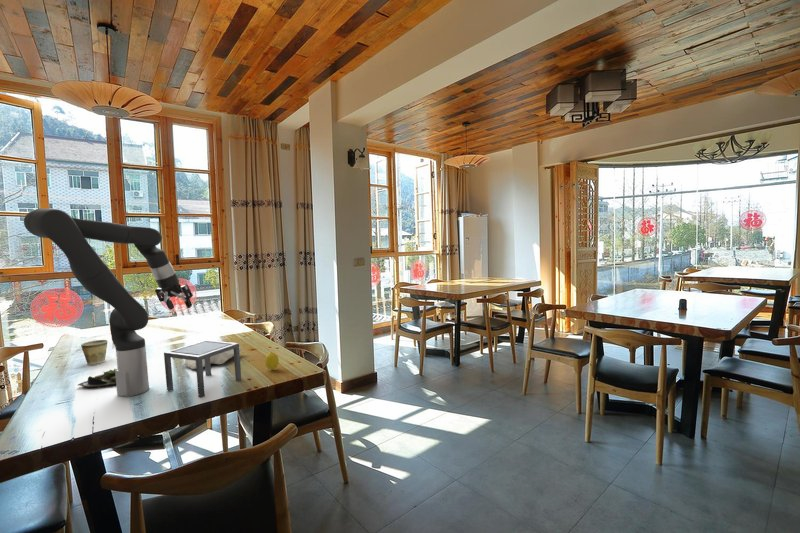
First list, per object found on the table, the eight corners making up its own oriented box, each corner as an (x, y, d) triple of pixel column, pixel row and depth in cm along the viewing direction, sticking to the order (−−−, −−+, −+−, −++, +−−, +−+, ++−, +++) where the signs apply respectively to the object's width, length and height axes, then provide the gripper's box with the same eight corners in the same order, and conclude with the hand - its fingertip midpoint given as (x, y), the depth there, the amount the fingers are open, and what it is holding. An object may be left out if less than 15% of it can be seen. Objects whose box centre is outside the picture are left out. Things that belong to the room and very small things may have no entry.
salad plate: (98, 375, 168) (97, 365, 168) (144, 370, 172) (143, 360, 172) (73, 392, 149) (72, 380, 149) (125, 386, 154) (124, 374, 153)
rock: (177, 355, 175) (229, 336, 194) (180, 369, 177) (232, 349, 196) (195, 364, 163) (249, 342, 182) (198, 379, 165) (252, 356, 184)
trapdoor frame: (201, 397, 138) (198, 357, 137) (167, 391, 146) (163, 352, 144) (241, 379, 155) (238, 343, 154) (208, 374, 163) (206, 339, 161)
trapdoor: (199, 357, 140) (199, 354, 140) (172, 353, 146) (172, 351, 146) (230, 346, 153) (230, 344, 153) (204, 344, 159) (204, 341, 159)
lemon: (274, 367, 169) (273, 349, 168) (281, 369, 165) (280, 351, 165) (263, 371, 164) (261, 352, 164) (270, 373, 161) (269, 354, 160)
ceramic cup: (105, 363, 183) (103, 343, 183) (79, 367, 180) (77, 346, 179) (114, 356, 195) (112, 337, 195) (90, 359, 192) (88, 340, 191)
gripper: (143, 280, 153) (160, 314, 160) (174, 277, 151) (190, 311, 158) (155, 271, 160) (172, 304, 167) (185, 268, 157) (201, 302, 164)
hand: (181, 308), depth 162 cm, fingers open, 8 cm apart
